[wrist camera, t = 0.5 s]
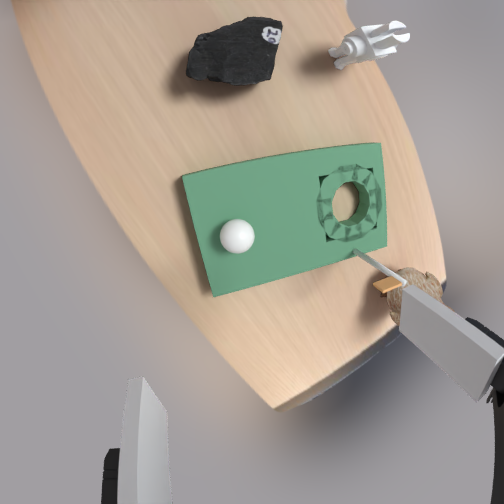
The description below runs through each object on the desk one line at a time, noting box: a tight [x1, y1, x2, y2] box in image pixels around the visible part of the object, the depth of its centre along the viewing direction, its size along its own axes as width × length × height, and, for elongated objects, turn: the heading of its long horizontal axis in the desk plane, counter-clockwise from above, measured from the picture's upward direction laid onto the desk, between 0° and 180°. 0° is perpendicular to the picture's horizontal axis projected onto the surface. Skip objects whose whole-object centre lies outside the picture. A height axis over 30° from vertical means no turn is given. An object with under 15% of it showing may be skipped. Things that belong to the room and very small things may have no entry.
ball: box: [220, 219, 255, 254], centre depth 29 cm, size 4×4×4 cm
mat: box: [182, 143, 407, 297], centre depth 28 cm, size 14×24×12 cm, turn 102°
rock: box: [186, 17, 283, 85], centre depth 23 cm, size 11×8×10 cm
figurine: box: [380, 268, 455, 326], centre depth 34 cm, size 9×10×15 cm
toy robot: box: [328, 21, 410, 70], centre depth 22 cm, size 4×8×12 cm, turn 117°
